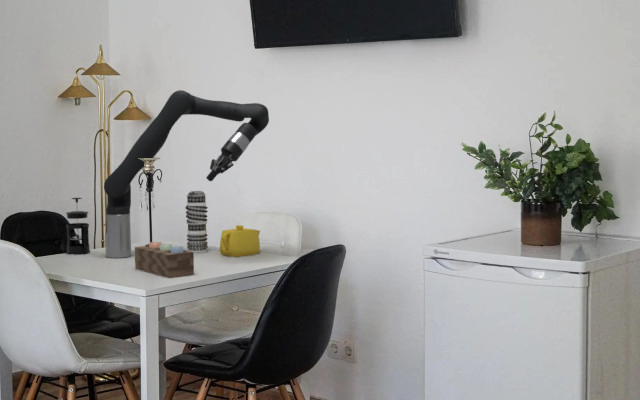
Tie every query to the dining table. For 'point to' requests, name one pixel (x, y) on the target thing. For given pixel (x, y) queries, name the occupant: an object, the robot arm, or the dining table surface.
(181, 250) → the blue button
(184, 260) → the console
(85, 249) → the french press
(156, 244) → the terracotta button
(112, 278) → the dining table surface
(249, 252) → the teapot
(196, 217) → the decorative candle
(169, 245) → the sage button
